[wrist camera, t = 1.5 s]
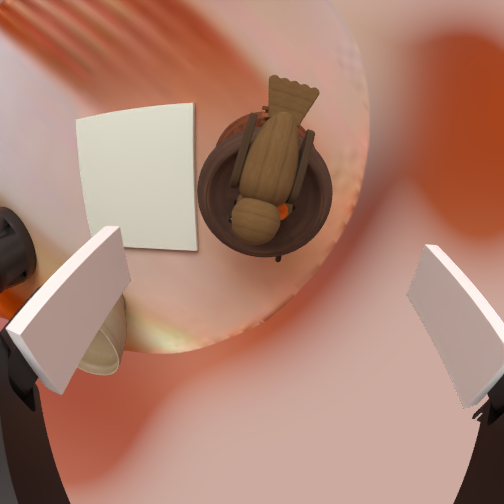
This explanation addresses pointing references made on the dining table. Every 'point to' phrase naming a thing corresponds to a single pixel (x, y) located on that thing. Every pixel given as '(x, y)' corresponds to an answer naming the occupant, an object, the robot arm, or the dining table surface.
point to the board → (141, 175)
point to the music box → (267, 178)
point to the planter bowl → (107, 343)
